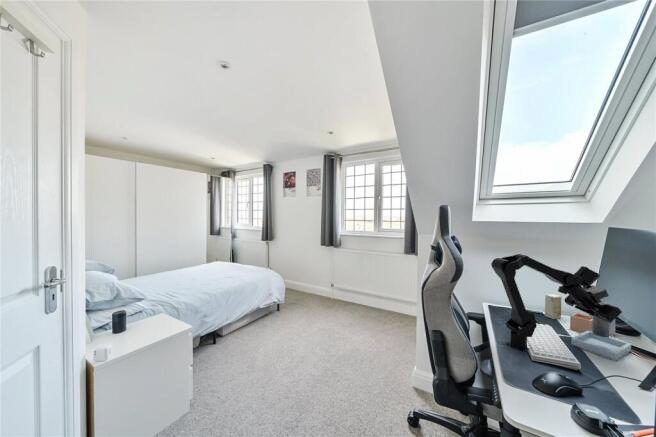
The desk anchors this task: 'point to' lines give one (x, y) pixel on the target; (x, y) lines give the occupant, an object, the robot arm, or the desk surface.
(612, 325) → the medicine box
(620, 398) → the desk surface
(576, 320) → the orange open box
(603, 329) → the block
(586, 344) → the trough
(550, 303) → the skincare box
